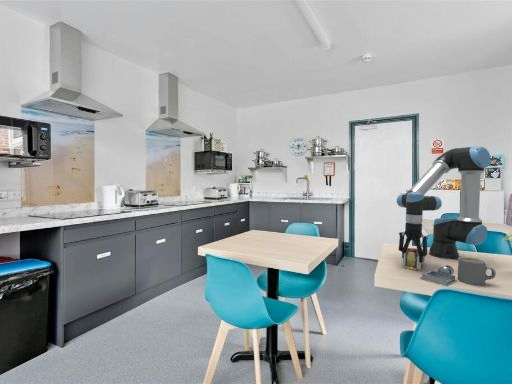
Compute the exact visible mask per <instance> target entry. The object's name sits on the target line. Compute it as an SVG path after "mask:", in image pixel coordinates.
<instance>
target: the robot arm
mask: <svg viewBox="0 0 512 384" xmlns="http://www.w3.org/2000/svg"><path fill="white" fill-rule="evenodd" d="M490 154H491V153H490V152H489V150H487V148H486V147H484V146H474V145H473V146H468V147H467V146H466V147H457V148H456V147H454V148H451V149H449V150H447V151H445V152H444V153H442V154H441V155H439V156H438V157H437V158H436V159H435V160H433V162H432V165H431V167H430V168H428V169H427V170H426V172H425V173H424V174H423V175H422V176H421V177H420V178H419V179H418V180H417V181H416V182H415V183H414V185H413V186H411V188H410V189H409V190H408V191H407V192H406V193H402V194H398V196H397V198H396V204H397V205H398V207H400V208H405V223H404V224H405V227H404V228H405V231H401V232H398V236H399V241H398V251H399V252H401V253H402V254H401V259H402V260H403V259H404V261H403V266H404V267H405V265H407V249H408V248H409V245H410V243H411V241H413V242H414V243H415V247H416V249H417V250H418V254H419V256H417V269H419V270H420V269H421V268H422V267H421V266H422V265H421V263H422V262H423V256H425V257H426V256H428V255H430V256H433V257H437V258H440V259H446V260H447V259H450V260H457V259H458V258H459V257H460V253H459V251H458V248H457V242H458V243H463V244H467V245H471V246H472V245H473V246H479V245H481V244H482V243H484V242H485V240H486V238H487V235H488V228H487V226H486V225H484V224H483V220H482V219H481V218H480V200H481V199H480V198H481V197H480V195H481V176H482V174H483V173H484V172H485V169H486V168H488V167H489V166H490V163H491V155H490ZM455 169H457V172H458V173H459V174H460V176H461V177H460V199H459V201H460V203H459V216H458V217H457V218H454V217H444V218H443V217H439V218H435V219H434V220H433V227H432V230H433V232H432V233H433V235H432V243H431V245H430V247H429V250H428V239H429V236H428V235H424V234H423V233H422V231H423V224H422V223H423V213H424V212H423V211H429V212H430V211H438V210H439V209H441V207H442V199H441V198H440V197H439V196H434V195H431V196H430V195H429V196H428V195H426V194H427V192H428V191H430V190H431V188H432V187H433V186H435V184H436V183H437V182H438V181H439V180H440V179H441V177H443V175H444V174H448V173H449V172H450V171H451V170H455ZM405 237H406V238H405ZM421 239H422V243H421ZM422 250H423V251H422Z"/></svg>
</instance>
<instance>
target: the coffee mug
mask: <svg viewBox="0 0 512 384" xmlns="http://www.w3.org/2000/svg"><path fill="white" fill-rule="evenodd" d="M457 259H458V262H457V277H456V280H457V281H458V282H461V283H463V284H465V285H466V284H467V285H470V286H477V287H478V286H479V287H480V286H485V284H486V283H485V282H486V281H488V280H493V279H495V277H496V275H497V271H496V269H495V267H493V266H490V265H487V261H485V260H484V259H481V258H477V257H470V256H469V257H468V256H459V258H457ZM488 270H491V274H490V275H487V271H488Z"/></svg>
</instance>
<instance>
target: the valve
mask: <svg viewBox="0 0 512 384" xmlns="http://www.w3.org/2000/svg"><path fill="white" fill-rule="evenodd" d="M408 248H409V249H408V250H407V265H405V266H404V267H405V269H406V270H410V271H419V270H420V269H417V256H418V252H417V248H416V249H411V248H412V247H408Z"/></svg>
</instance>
